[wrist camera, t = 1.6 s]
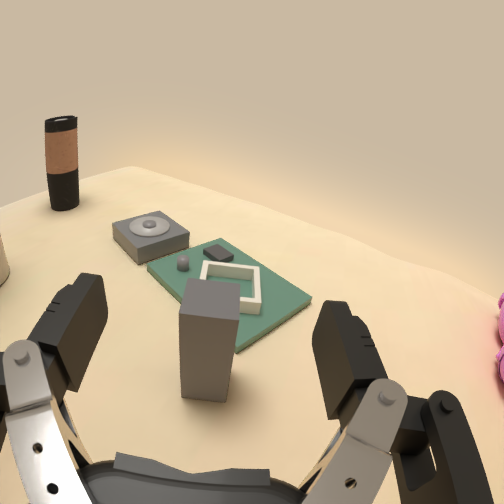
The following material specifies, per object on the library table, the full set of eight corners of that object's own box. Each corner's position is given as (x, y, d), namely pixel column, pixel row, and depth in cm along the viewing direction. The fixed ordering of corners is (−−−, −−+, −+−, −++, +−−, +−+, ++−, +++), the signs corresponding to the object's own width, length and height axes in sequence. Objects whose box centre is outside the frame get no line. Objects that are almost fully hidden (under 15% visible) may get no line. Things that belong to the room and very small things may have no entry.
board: (146, 270, 45) (146, 252, 44) (220, 243, 55) (222, 227, 54) (236, 353, 35) (239, 335, 33) (310, 303, 45) (315, 286, 43)
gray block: (181, 397, 28) (178, 313, 22) (187, 362, 32) (188, 276, 26) (225, 402, 29) (239, 320, 22) (227, 367, 33) (240, 282, 27)
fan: (113, 238, 52) (111, 219, 50) (159, 224, 58) (159, 206, 56) (138, 264, 46) (136, 243, 44) (188, 247, 53) (189, 227, 51)
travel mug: (44, 210, 57) (37, 122, 46) (59, 197, 63) (55, 116, 53) (71, 212, 58) (67, 120, 47) (85, 199, 64) (83, 114, 54)
